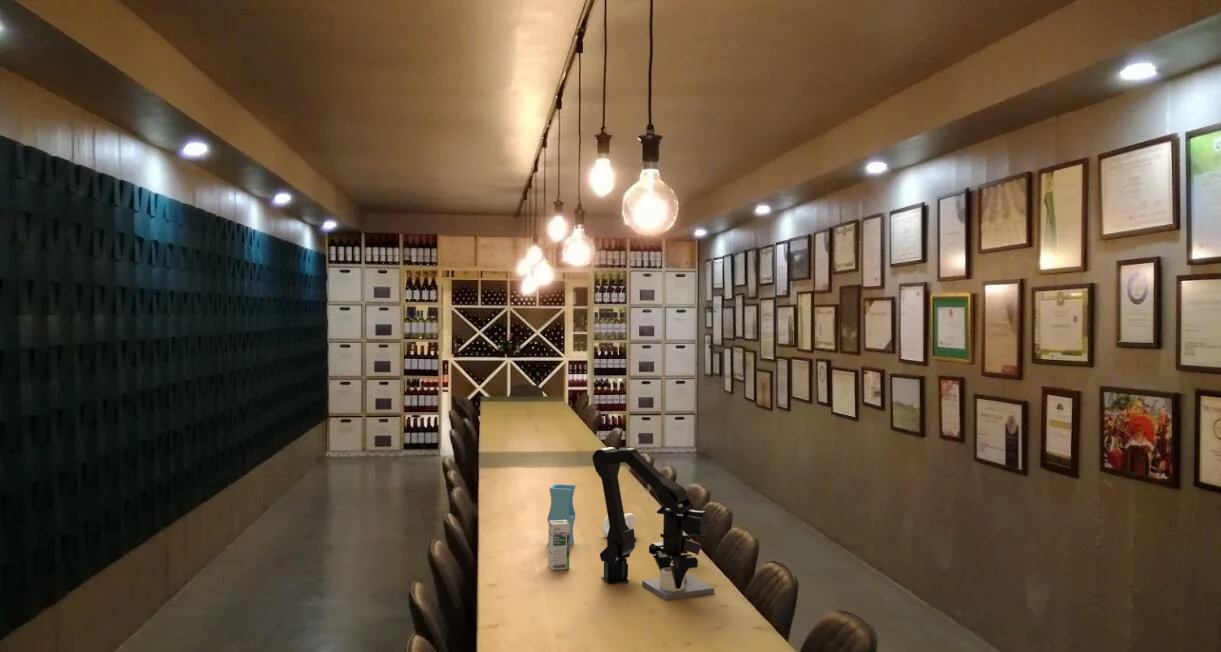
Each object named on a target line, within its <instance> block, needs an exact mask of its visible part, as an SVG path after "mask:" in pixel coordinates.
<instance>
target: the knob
mask: <svg viewBox="0 0 1221 652" xmlns="http://www.w3.org/2000/svg"><path fill="white" fill-rule="evenodd" d="M659 576H660V577H659V578H660V588H662V589H663V590H666V591H681V590H683V588H684V582H685V576H684V579H683V581H682V584H681V587H680V588H679V589H677V588H676V586H675V583H674V579H673V575H672V571H671V567H664V568H662V569H661V572H660V575H659Z"/></svg>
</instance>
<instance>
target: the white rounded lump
mask: <svg viewBox="0 0 1221 652" xmlns="http://www.w3.org/2000/svg"><path fill="white" fill-rule="evenodd" d="M624 517H625V523H626V525H627V526H628V528H629V529H634V527H635V525H636V519H637V518H636V516H635V515H634V514H633V513H631V512H629V513H624ZM609 528H610V526H609V519H608V514H607V515H606V516H605V518H604V520H603V522H602V527H601V530H602V533H603V536H604V537H605V538H607V535H608V532H609Z"/></svg>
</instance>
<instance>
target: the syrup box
mask: <svg viewBox="0 0 1221 652" xmlns="http://www.w3.org/2000/svg"><path fill="white" fill-rule="evenodd" d="M548 541H549V543H548V542H547V545H548V546H547V547H548V553H547V555H548V557H547V559H548V561H547V563H548V567H549V568H550V570H551V571H559V570H560V571H562V570H570V552H571V551H570V548H571V547H570V523H569V522H568V521H567V520H554V521H549V525H548Z"/></svg>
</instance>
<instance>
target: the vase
mask: <svg viewBox="0 0 1221 652" xmlns="http://www.w3.org/2000/svg"><path fill="white" fill-rule="evenodd" d="M548 489H549V493H550V509H549V512H548V516H547V525H548V526H549V521H554V520H567V521H568V522H569V523H570V548H571V547H572V546H573V545H574V543H575V541H574V525H575V524H574V523H575V521H576V512H575V508H574V502H573V500H574V494H575V490H576V484H565V483H563V484H561V483H554V484H552V485H551V486H549V488H548ZM548 543H549V540H548V542H547V547H548Z"/></svg>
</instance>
